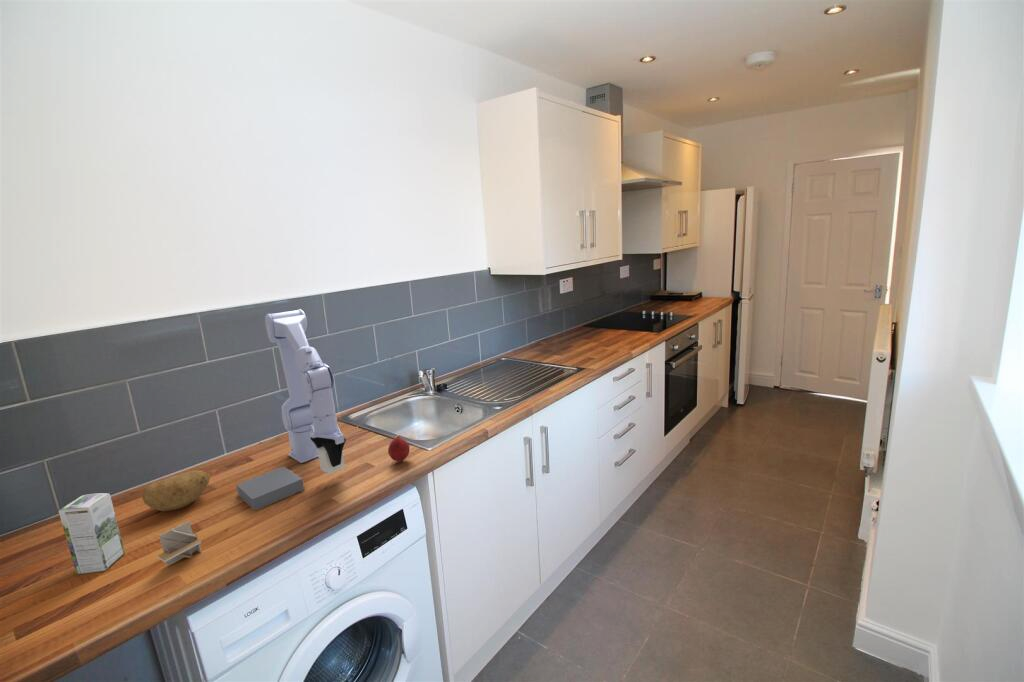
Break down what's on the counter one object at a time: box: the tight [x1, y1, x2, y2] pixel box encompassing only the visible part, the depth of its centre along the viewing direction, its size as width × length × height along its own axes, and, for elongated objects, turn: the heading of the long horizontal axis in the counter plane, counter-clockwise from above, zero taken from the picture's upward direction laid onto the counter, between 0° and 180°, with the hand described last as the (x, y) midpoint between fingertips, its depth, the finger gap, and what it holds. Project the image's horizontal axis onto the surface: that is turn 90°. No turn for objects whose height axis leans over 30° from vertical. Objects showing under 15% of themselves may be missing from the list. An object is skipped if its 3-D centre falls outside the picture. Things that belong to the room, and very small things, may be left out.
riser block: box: [235, 465, 305, 511], centre depth 122 cm, size 12×12×3 cm
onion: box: [387, 434, 410, 463], centre depth 133 cm, size 6×6×8 cm
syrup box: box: [58, 492, 125, 575], centre depth 97 cm, size 6×6×14 cm
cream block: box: [317, 447, 346, 475], centre depth 124 cm, size 4×4×6 cm
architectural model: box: [156, 520, 203, 567], centre depth 96 cm, size 3×7×7 cm, turn 148°
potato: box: [141, 470, 211, 512], centre depth 119 cm, size 10×14×8 cm
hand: (331, 462), depth 125 cm, fingers closed on cream block, 4 cm apart
